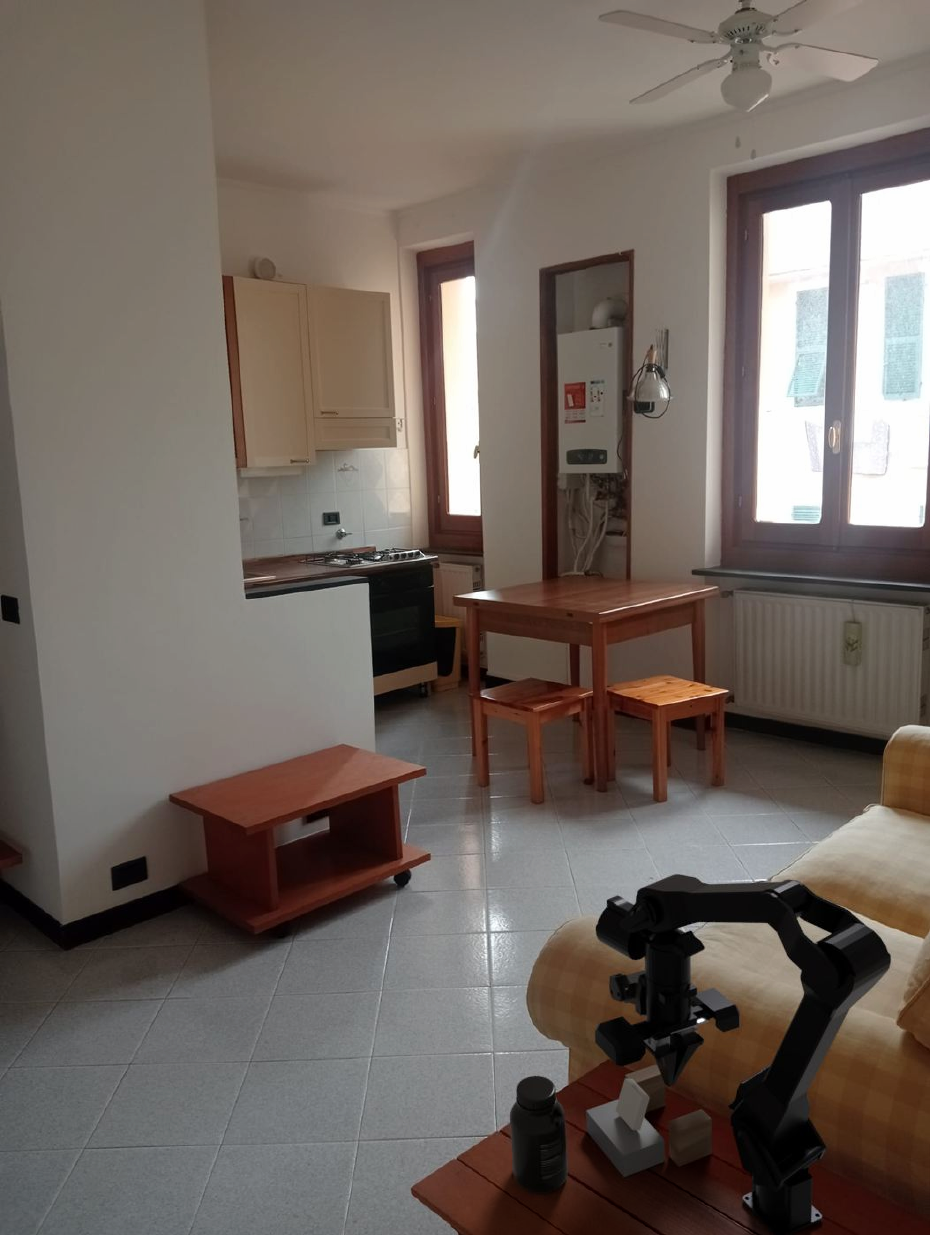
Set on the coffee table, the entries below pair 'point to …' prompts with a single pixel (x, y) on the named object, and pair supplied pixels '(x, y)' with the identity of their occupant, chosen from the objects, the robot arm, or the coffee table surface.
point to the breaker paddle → (632, 1104)
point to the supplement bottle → (538, 1136)
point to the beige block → (690, 1137)
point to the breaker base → (624, 1140)
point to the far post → (650, 1085)
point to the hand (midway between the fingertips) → (668, 1084)
